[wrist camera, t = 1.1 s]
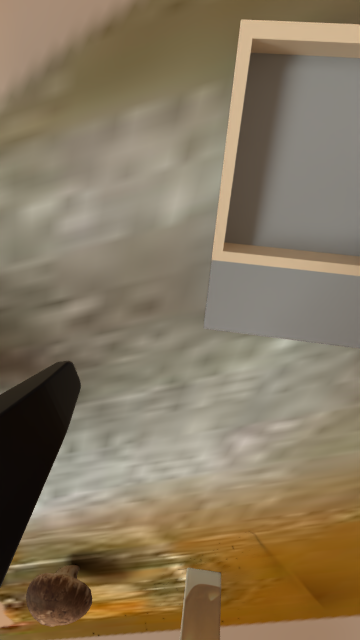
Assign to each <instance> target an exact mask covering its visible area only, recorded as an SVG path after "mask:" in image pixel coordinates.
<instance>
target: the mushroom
mask: <svg viewBox="0 0 360 640" xmlns="http://www.w3.org/2000/svg"><path fill="white" fill-rule="evenodd" d="M79 569H80V567H79V566H76V565H68V566H65V567H62V568H60V569H58V570H57V572H56V573H44V574H40V575H38V576H37V577H36V578H35V579H34V580H33V581H32V582H31V583H30V585H29V587H28V590H27V595H26V600H27V606H28V609H29V611H30V613H31V614H32V616H33V617H34V618H35V619H36V620H37V621H38V622H39V623H41V624H43V625H47V626H51V627H52V626H56V625H66V624H69V623H72V622H74V621H76V620H78V619H80V618H81V617H82V616H84V615H85V614H86V613H87V611H88V610H89V609H90V606H91V604H92V595H91V590H90V589H89V587H88V586H87V585H86V584H85V583H83V582H81V581H80V580H78V579H77V574H78V571H79Z"/></svg>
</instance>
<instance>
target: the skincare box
mask: <svg viewBox="0 0 360 640" xmlns="http://www.w3.org/2000/svg"><path fill="white" fill-rule="evenodd" d="M220 606H221V573H220V572H213V571H206V570H200V569H193V568H187V574H186V584H185V594H184V604H183V613H182V623H181V633H180V640H220Z"/></svg>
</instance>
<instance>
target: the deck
mask: <svg viewBox="0 0 360 640" xmlns="http://www.w3.org/2000/svg"><path fill="white" fill-rule="evenodd" d="M204 328H205V329H213V330H220V331H228V332H236V333H244V334H251V335H259V336H267V337H275V338H283V339H290V340H298V341H306V342H314V343H321V344H329V345H337V346H345V347H352V348H360V25H359V24H335V23H311V22H287V21H264V20H241V25H240V33H239V41H238V49H237V57H236V65H235V73H234V82H233V90H232V98H231V106H230V114H229V122H228V130H227V139H226V147H225V155H224V163H223V171H222V179H221V187H220V196H219V204H218V212H217V220H216V228H215V236H214V244H213V253H212V263H211V271H210V279H209V287H208V296H207V304H206V312H205V320H204Z"/></svg>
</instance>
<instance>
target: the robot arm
mask: <svg viewBox="0 0 360 640" xmlns="http://www.w3.org/2000/svg"><path fill="white" fill-rule="evenodd" d="M80 388H81V383H80V380H79V377H78V375H77V372H76V370H75V367H74V365H73V363H72V362H70V361H63V362H57V363H55V364H53V365H52V366H50V367H48V368H46V369H45V370H43V371H41V372H39V373H38V374H36V375H34V376H32V377H31V378H29V379H27V380H25V381H24V382H22V383H20V384H18V385H17V386H15V387H13V388H11V389H10V390H8V391H6V392H4V393H3V394H1V395H0V587H1V585H2V582H3V580H4V578H5V575H6V573H7V571H8V568H9V566H10V564H11V561H12V559H13V557H14V554H15V552H16V550H17V547H18V545H19V543H20V540H21V538H22V536H23V533H24V531H25V529H26V526H27V524H28V522H29V519H30V517H31V515H32V512H33V510H34V508H35V505H36V503H37V501H38V498H39V496H40V494H41V491H42V489H43V487H44V484H45V482H46V480H47V477H48V475H49V473H50V470H51V468H52V466H53V463H54V461H55V459H56V456H57V454H58V452H59V449H60V447H61V445H62V442H63V440H64V438H65V435H66V433H67V430H68V427H69V424H70V421H71V418H72V414H73V411H74V408H75V405H76V402H77V398H78V395H79V392H80Z"/></svg>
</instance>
